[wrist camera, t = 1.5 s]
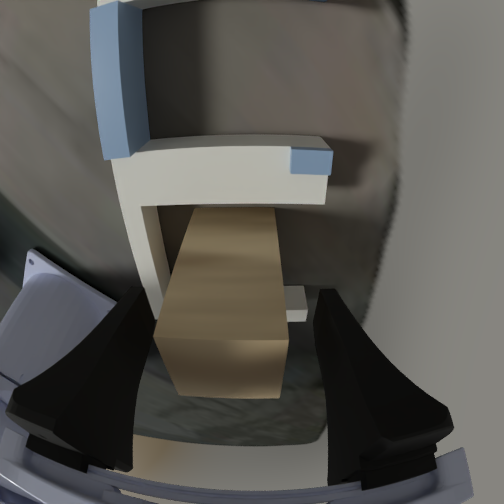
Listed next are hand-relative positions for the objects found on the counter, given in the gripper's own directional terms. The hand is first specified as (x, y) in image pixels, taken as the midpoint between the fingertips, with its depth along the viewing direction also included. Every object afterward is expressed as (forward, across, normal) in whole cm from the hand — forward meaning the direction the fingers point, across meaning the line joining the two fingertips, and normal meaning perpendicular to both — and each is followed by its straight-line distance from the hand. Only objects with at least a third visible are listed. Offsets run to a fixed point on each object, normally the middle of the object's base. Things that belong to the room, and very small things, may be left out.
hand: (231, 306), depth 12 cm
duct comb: (+5, 0, -4) cm, 7 cm away
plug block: (+5, 0, 0) cm, 5 cm away
